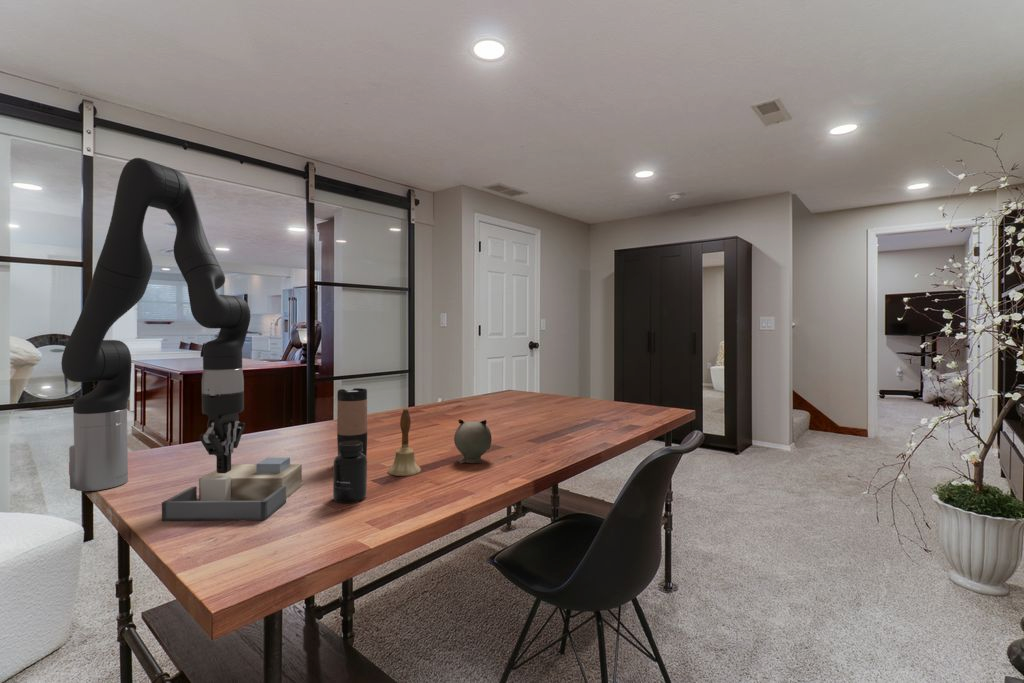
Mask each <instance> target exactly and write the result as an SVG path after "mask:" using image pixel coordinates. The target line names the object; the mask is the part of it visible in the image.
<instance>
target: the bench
mask: <svg viewBox="0 0 1024 683" xmlns="http://www.w3.org/2000/svg"><path fill="white" fill-rule="evenodd" d="M256 464H257V463H256ZM256 464H252V463H251V464H247V463H245V464H234V463H233V464H232V463H231V471H229V472H227V473H217V469H215V470H213V471H211V472H208V473H207V474H204V475H202V476H201V477H199V478H198V501H201V499H200V479H202V478H204V477H206V476H231V500H230V501H254V500H264V499H265V498H267V497H268V496H269V495H271V494H272V493H273V492H275V491H276V490H278V489H279V488H280V487H282V486H286V499H287V497H288V498H289V497H290V496H291V495H292V494H294V493H295V492H296V491H297V490H299V489H300V488H301V487H302V486H303V481H302V478H303V477H302V476H303V475H302V474H303V473H302V472H303V465H302V464H299V463H298V464H295V463H294V464H291V463H290V467H288V468H287V469H285V470H284V471H282V472H281V473H257V472H256Z"/></svg>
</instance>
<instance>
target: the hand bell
mask: <svg viewBox="0 0 1024 683" xmlns="http://www.w3.org/2000/svg"><path fill="white" fill-rule="evenodd" d="M409 412H410V411H409V409H408V408H405V409H402V413H401V416H400V419H399V420H400V423H399V424H400V430H401V447H400V448H399V449H396V451H395V457H394V461H393V463H392V465H391V467H389V469H388V470H387V473H388V474H389V475H391V476H396V477H409V476H414V475H418V474H419V473H421V472H422V469H421V467H420V466H419V465H418V464H417V462H416V458H415V452H414V449H413V448H411V447H410V446H409V433H410V429H411V422H412V421H411V420H412V419H411V415H410V413H409Z"/></svg>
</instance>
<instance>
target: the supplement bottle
mask: <svg viewBox="0 0 1024 683" xmlns="http://www.w3.org/2000/svg"><path fill="white" fill-rule="evenodd" d="M362 451H363V448H362V442H361V441H344V442H341V443H339V453H340V454H339V455H338V454H337V456H335V458H334V459H333V471H332V472H333V474H332V476H333V482H332V483H333V484H332V489H333V490H332V498H333V501H335V502H336V503H340V504H352V502H354V503H358V502H360V500H361V501H363V500H364V499H365V498H366V497H367V487H368V486H367V485H368V482H367V481H368V476H367V475H368V459H367V458H368V457H367V458H366V456H365V455H364V454H362V453H361V452H362ZM357 501H358V502H357Z"/></svg>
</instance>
